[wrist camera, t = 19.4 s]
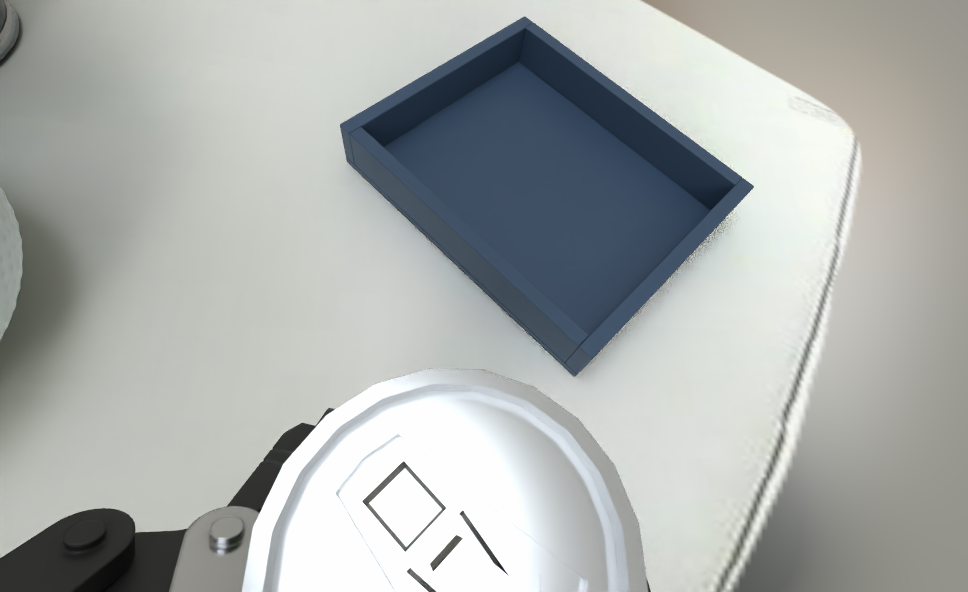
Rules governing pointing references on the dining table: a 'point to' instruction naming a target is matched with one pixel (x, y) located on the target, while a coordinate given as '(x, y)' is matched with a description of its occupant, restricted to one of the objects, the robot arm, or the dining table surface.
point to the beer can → (447, 497)
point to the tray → (544, 184)
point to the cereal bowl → (9, 262)
